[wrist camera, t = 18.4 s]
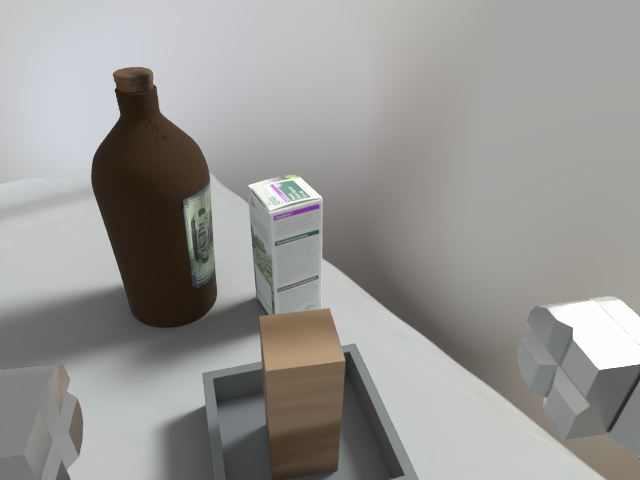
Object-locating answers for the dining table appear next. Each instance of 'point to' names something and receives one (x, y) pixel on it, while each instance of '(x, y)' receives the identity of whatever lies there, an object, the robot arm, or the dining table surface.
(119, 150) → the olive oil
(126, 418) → the dining table surface
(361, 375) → the bin
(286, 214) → the syrup box
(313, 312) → the wooden block
